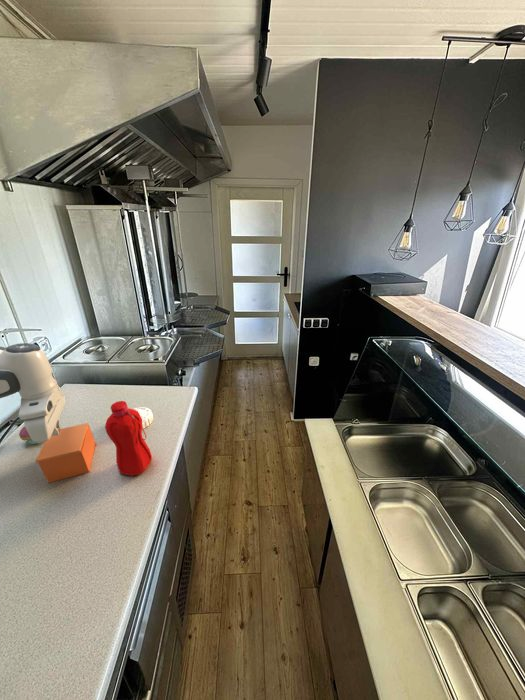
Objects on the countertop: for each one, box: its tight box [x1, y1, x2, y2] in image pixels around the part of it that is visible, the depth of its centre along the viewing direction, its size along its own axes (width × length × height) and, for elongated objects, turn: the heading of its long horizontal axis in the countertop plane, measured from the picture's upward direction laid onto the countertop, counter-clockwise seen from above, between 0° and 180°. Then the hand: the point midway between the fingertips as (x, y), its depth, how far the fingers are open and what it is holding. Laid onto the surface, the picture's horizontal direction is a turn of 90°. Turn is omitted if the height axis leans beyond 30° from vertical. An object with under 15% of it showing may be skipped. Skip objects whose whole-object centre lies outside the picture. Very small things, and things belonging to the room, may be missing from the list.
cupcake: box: [18, 426, 41, 445], centre depth 105 cm, size 9×8×12 cm
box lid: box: [35, 422, 90, 464], centre depth 93 cm, size 14×12×1 cm
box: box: [37, 425, 97, 483], centre depth 95 cm, size 14×12×9 cm
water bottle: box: [104, 400, 153, 477], centre depth 90 cm, size 9×11×25 cm
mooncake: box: [133, 406, 154, 430], centre depth 114 cm, size 12×12×4 cm
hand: (57, 432), depth 89 cm, fingers closed
